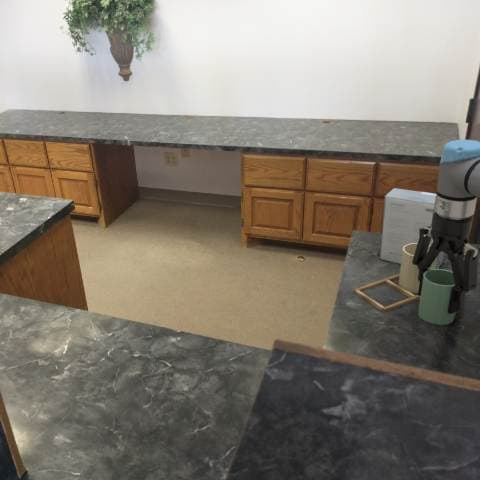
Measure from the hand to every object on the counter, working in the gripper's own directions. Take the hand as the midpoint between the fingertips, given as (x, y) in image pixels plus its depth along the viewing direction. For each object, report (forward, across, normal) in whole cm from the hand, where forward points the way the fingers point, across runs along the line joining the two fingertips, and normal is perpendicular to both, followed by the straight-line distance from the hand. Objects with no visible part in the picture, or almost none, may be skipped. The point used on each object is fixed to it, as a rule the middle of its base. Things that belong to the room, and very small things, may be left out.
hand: (437, 302), depth 119 cm
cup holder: (+5, -12, +1) cm, 13 cm away
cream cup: (+5, -12, +6) cm, 14 cm away
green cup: (+5, 0, 0) cm, 5 cm away
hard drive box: (+5, -24, +17) cm, 30 cm away
